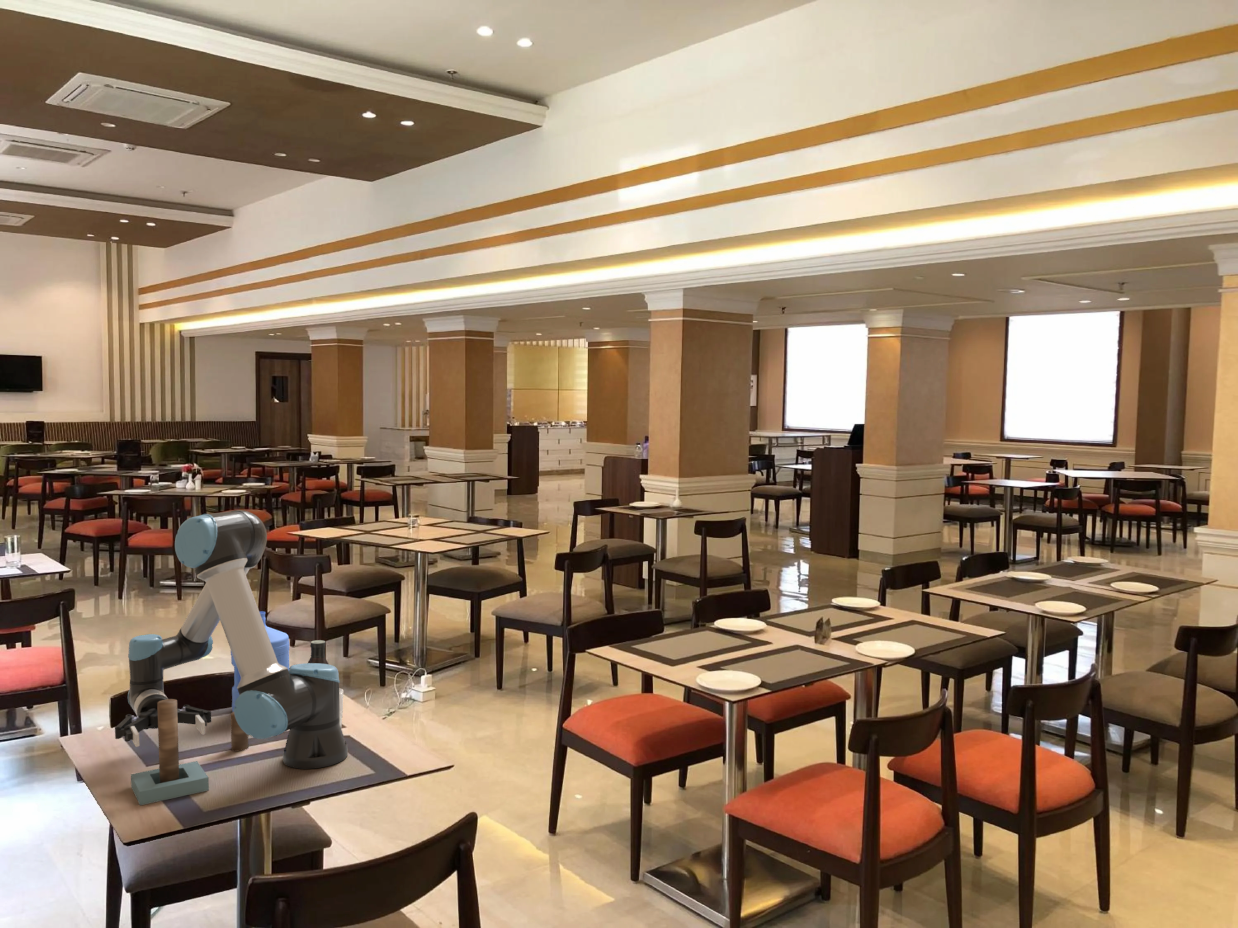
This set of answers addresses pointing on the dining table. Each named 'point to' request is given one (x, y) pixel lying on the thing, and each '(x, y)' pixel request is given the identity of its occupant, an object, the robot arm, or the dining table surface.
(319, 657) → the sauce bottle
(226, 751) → the dining table surface
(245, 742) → the short peg
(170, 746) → the tall peg
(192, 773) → the hollow square block
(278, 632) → the water jug
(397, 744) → the dining table surface
